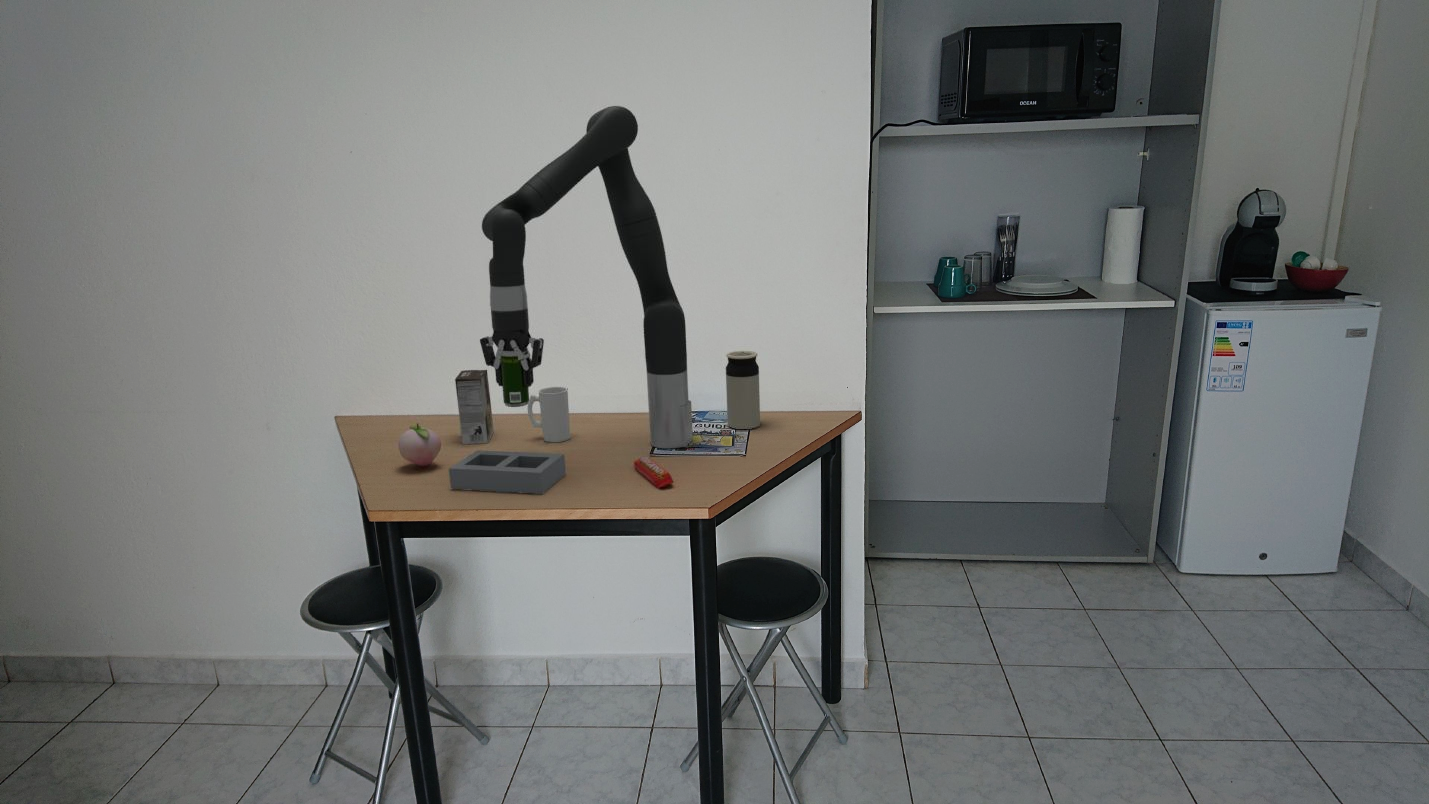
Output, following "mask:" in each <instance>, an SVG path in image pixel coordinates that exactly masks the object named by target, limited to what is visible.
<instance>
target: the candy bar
mask: <svg viewBox="0 0 1429 804" xmlns="http://www.w3.org/2000/svg"><path fill="white" fill-rule="evenodd" d="M633 466H634V467H635V470H636V471H637V472H638V473H639V474H640V475H641V476H643V478H645V479H647V480H648V481H649V482H650V483H651V484H652V483H653V484H652V485H654V486H655V487H656V486H657V488H658V487H659V488H658V489H662V488H661V487H663V488H665V487H667V486H670V485H671V484H673V483H675V482H674V480H673V478H672V475H671V474H670V472H668V471H667V470H666V469H665V468H663V467H662V466H661V465H660V464H658V463H657V462H655V461H654V460H653V459H652V458H650V457H649V456H647V455H646V456H643V457H641V458H638V459H637V460H635V461H633Z"/></svg>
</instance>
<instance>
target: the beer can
mask: <svg viewBox="0 0 1429 804" xmlns="http://www.w3.org/2000/svg"><path fill="white" fill-rule="evenodd" d="M501 352H502V353H501V355H500V356H501V359H500V361H501V374H502V386H501V387H502V398H503V403H504V405H505V407H508V408H520V407H526V406H528V403H529V400H530V392H529V387H524V378H523V370H524V368H523V366H522V364H521V361H519V360H518V355H517V354H516V351H511V350H504V351H503V350H501ZM522 354H523V355H526V352H525V351H524V352H522Z"/></svg>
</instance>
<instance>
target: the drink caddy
mask: <svg viewBox="0 0 1429 804" xmlns="http://www.w3.org/2000/svg"><path fill="white" fill-rule="evenodd" d="M565 461H566V459H565V454H564V453H550V452H547V453H546V452H523V451H501V450H482V449H481V450H475V451H474V452H472V453H471V454H469V455H468V456H466V457H465V458H463V459H461V460H459V461H458V462H456V463H455V464H453V465H452V466H450V467H449V468H448V474H449V482H450V489H451V488H452V489H451V490H454V489H471V490H470V491H472V490H480V491H479V492H490V491H496V492H495V493H509V492H517V493H516V494H519V493H518V492H522V493H521V494H527V493H535V494H534V495H543V494H544V493H546V492H547V491H548V490H549V489H550V488H551V487H553V486H554V485H555V484H556V483H557V482H558V481H560V480H561V479H562V478H563V477H565V475H566V462H565ZM547 489H548V490H547ZM546 490H547V491H546ZM543 492H544V493H543Z"/></svg>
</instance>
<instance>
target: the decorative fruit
mask: <svg viewBox="0 0 1429 804" xmlns="http://www.w3.org/2000/svg"><path fill="white" fill-rule="evenodd" d="M438 435H439V434H437V433H436V432H435V431H433V430H431V429H428V428H425V427H422V426H421V425H419V423H418V422H417V423H416V425H410V426H409V429H408V430H406V431H404V432H403V433H402V435H401V436H400V437H399V440H398V443H397V446H398V451H399V453H400V455H401V457H402V458H403V459H404V460H405V461H407V462H409V463H412V464H415V465H417V466H418V465H419V466H420V467H422V468H424V467H426V466H427V465H429V464H431V463H432V462H433V461H434V460H435V459H436V458H437V457H438V456H439V454H440V451H441V447H442V440H441V438H440V436H438Z"/></svg>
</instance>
